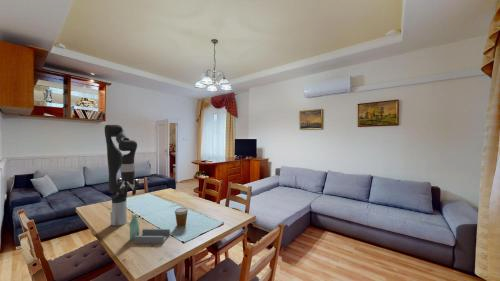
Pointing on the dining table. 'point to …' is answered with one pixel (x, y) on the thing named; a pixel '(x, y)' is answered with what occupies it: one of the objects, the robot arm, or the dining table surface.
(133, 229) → the bottle
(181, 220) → the disposable coffee cup
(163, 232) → the u rest
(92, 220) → the dining table surface
